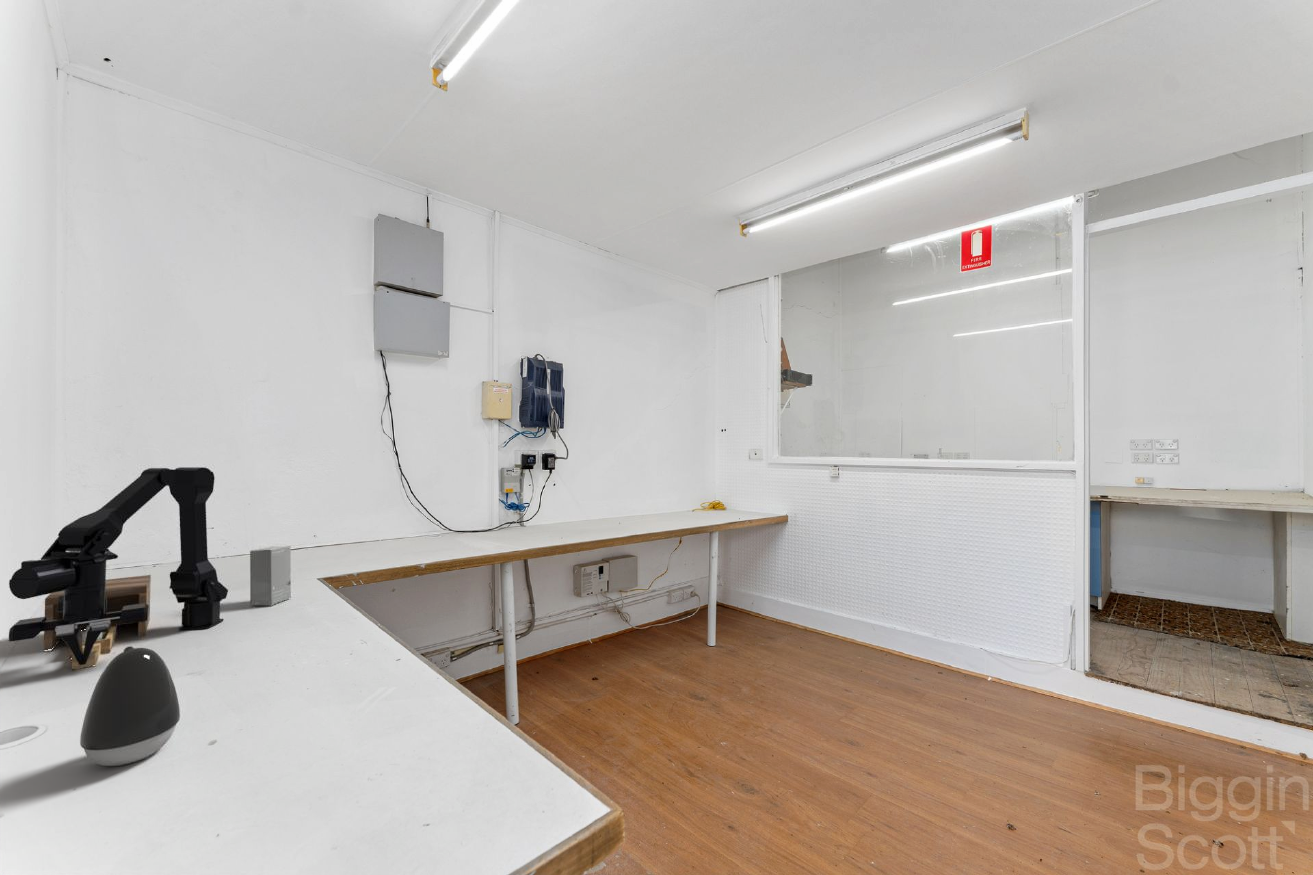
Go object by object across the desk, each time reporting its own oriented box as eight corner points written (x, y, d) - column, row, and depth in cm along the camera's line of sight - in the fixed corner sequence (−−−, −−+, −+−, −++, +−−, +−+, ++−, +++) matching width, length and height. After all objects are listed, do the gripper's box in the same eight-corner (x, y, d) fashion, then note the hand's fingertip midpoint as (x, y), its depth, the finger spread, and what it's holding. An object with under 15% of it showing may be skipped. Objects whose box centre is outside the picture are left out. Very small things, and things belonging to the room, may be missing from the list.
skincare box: (271, 606, 150) (272, 550, 150) (246, 606, 150) (247, 550, 150) (292, 598, 158) (293, 544, 159) (269, 598, 159) (270, 544, 159)
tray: (104, 664, 109) (105, 642, 110) (61, 672, 106) (62, 649, 106) (116, 638, 125) (116, 618, 125) (78, 644, 121) (79, 624, 121)
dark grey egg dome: (171, 729, 84) (173, 631, 84) (185, 752, 77) (188, 647, 78) (76, 758, 76) (79, 650, 76) (82, 787, 69) (85, 669, 70)
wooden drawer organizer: (145, 635, 126) (146, 586, 127) (43, 652, 116) (45, 598, 116) (149, 619, 139) (150, 574, 139) (57, 633, 128) (59, 584, 128)
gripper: (151, 572, 119) (149, 642, 119) (23, 586, 107) (20, 664, 107) (148, 581, 111) (146, 656, 111) (9, 597, 99) (6, 682, 98)
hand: (82, 664), depth 107 cm, fingers closed, pressing on tray
